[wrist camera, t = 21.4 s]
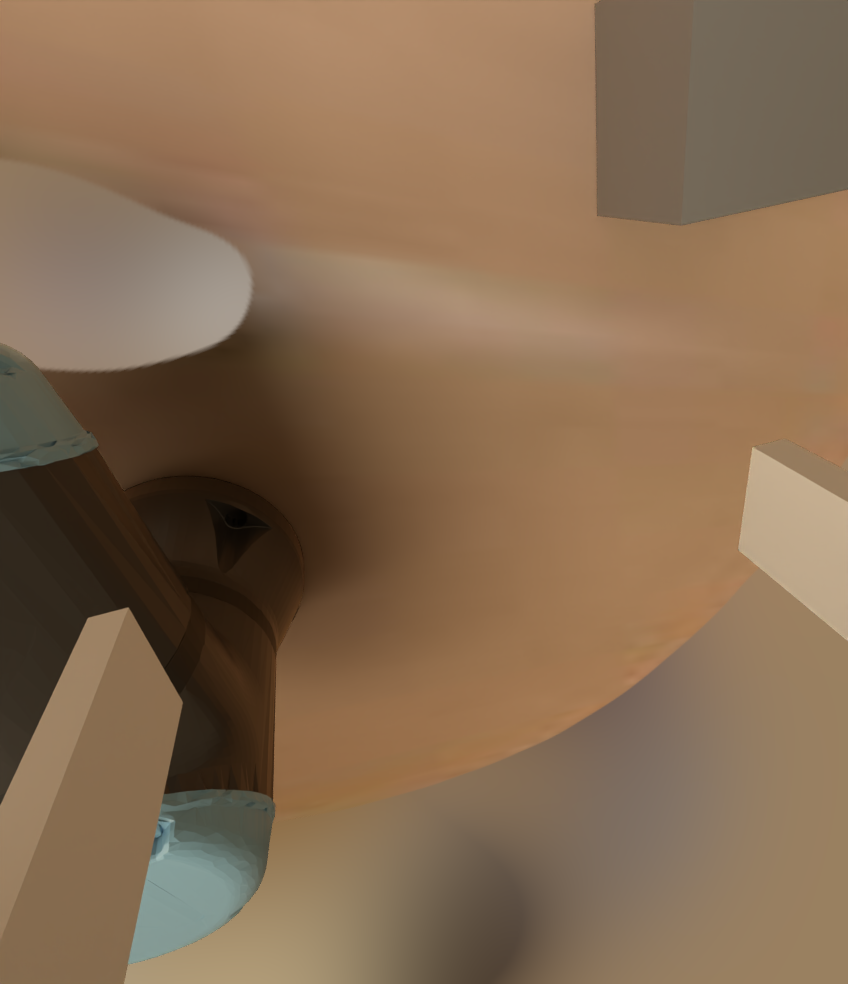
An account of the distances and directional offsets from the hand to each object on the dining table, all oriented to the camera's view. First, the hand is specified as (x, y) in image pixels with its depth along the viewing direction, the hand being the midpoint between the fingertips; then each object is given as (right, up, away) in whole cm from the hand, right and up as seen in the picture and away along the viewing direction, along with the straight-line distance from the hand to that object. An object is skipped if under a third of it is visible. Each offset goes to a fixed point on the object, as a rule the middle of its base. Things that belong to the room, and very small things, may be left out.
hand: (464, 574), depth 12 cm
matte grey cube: (+14, +24, +21) cm, 35 cm away
